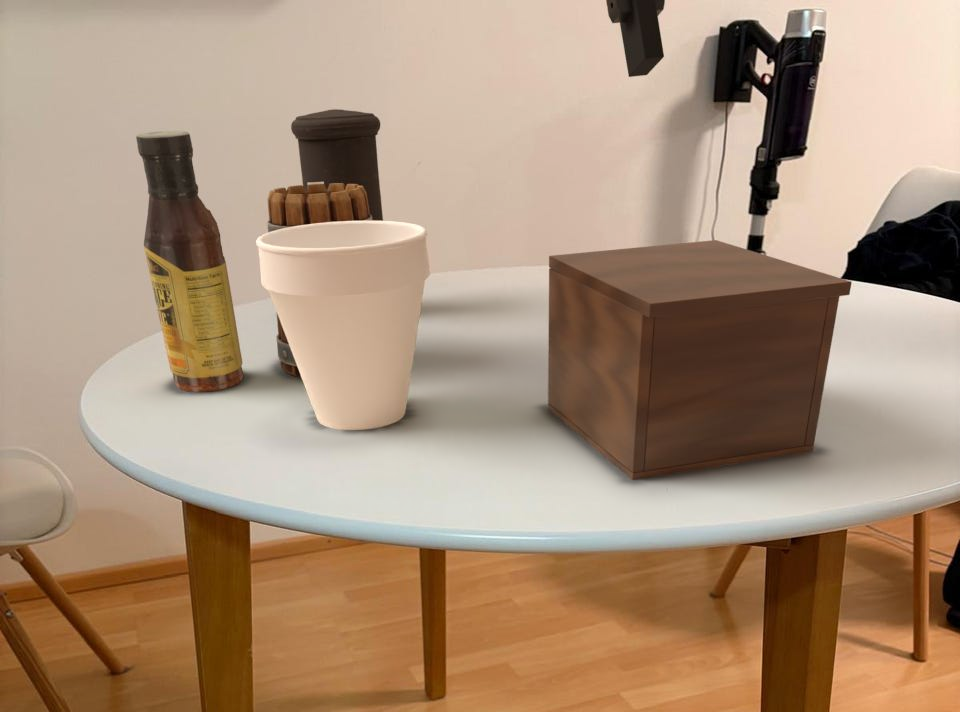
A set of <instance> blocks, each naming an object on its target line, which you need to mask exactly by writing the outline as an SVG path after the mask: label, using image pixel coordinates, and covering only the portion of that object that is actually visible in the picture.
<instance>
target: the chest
mask: <svg viewBox="0 0 960 712" xmlns="http://www.w3.org/2000/svg"><path fill="white" fill-rule="evenodd" d="M840 297H841V296H836V297H827V298H819V299H810V300H801V301H792V302H784V303H775V304H766V305H757V306H749V307H740V308H731V309H722V310H713V311H705V312H696V313H687V314H678V315H670V316H661V317H652V318H649V317H647V316H645V315H643V314H641V313H639V312H637V311H635V310H633V309H631V308H629V307H627V306H625V305H623V304H621V303H619V302H617V301H615V300H613V299H611V298H609V297H607V296H605V295H603V294H601V293H599V292H597V291H595V290H593V289H591V288H589V287H587V286H585V285H583V284H581V283H579V282H577V281H575V280H573V279H571V278H569V277H567V276H565V275H563V274H561V273H559V272H558V271H556V270H554V269H552V268H550V267H549V269H548V350H547V351H548V356H547V357H548V361H547V362H548V367H547V371H548V373H547V391H548V392H547V394H548V395H547V409H548V410H549V411H550V412H551V413H553V414H554V415H555V416H556V417H557V418H558V419H560V421H562V422H563V423H565V425H567V426H568V427H569V428H570V429H571V430H573V432H575V433H576V434H577V435H579V436H580V437H581V438H582V439H583V440H584V441H586V442H587V443H588V444H589V445H590V446H592V448H593V449H595V450H596V451H597V452H599V453H600V454H601V455H602V456H603V457H605V458H606V459H607V461H609V462H610V463H612V464H613V466H615V467H616V468H617V469H619V470H620V471H621V472H622V473H623V474H625V476H627V477H628V478H629V479H630V480H632V481H636V480H642V479H647V478H655V477H661V476H666V475H673V474H679V473H685V472H686V473H687V472H693V471H698V470H705V469H711V468H716V467H717V468H718V467H724V466H730V465H736V464H743V463H749V462H755V461H761V460H769V459H774V458H780V457H786V456H792V455H798V454H799V455H800V454H805V453H812V452H814V447H815V445H814V444H815V440H816V435H817V429H818V424H819V418H820V412H821V411H820V410H821V405H822V400H823V394H824V388H825V383H826V377H827V372H828V366H829V360H830V354H831V350H832V349H831V348H832V342H833V335H834V332H835V326H836V319H837V313H838V307H839V302H840Z"/></svg>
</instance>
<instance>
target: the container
mask: <svg viewBox="0 0 960 712" xmlns="http://www.w3.org/2000/svg"><path fill="white" fill-rule="evenodd" d="M290 125H291V126H290V129H291V130H290V131H291V132H292V135H293V136H294V137H295V139H296V140H297V145H298V153H299V154H298V155H299V163H300V171H301V181H302V182H301V183H302V185H303V187H304V189H305V190H306V189H307V186H308V183H310V182H324V185H325V187H326V188H327V189H328V187H329V184H331V183H343V184H344V185H345V187H346V186H347V184H358V185H359V186H363V187H364V189H365V191H366V193H367V199H368V206H369V212H370V215H372V219H373V221H384V215H383V205H382V195H381V185H380V172H379V161H378V148H377V136H378V134H379V131H380V129H381V121H380V118H379V117H378V116H376V115H375V114H374V113H371V112H363V111H356V110H348V109H340V108H339V109H336V108H334V109H333V108H332V109H327V110H322V111H318V112H312V113H307V114H305V115H299V116H296V117H295V119H294V120H293V121H292V122H291V124H290Z"/></svg>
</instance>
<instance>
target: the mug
mask: <svg viewBox="0 0 960 712" xmlns="http://www.w3.org/2000/svg"><path fill="white" fill-rule="evenodd" d="M267 209H268V211H267V212H268V220H267V223H266V224H267V233H268V232H272V231H275V230H279V229H283V228H288V227H294V226H300V225H307V224H316V223H326V222H340V221H373V219H372V215H370V212H369V206H368V199H367V193H366V191H365V189H364V187H363V186H359V185H358V184H347V186H346V187H345V185H344V184H343V183H331V184H329V187H328V189H327V188H326V187H325V185H324V182H310V183H308V186H307V189H306V190H305V189H304V187H303V184H298V185H297V184H296V185H289V186H287V189H286V187H278V188H274V189H273V190H272V189H271V190H269V192H268V196H267ZM276 321H277V322H276V323H277V335H276V347H277V357H278V359H279V361H280V368H281V369H282V370H283V371H284V372H285V373H287V374H289V375H290V376H293V377H301V375H300V372H299V370H298V367H297V364H296V362H295V359H294V356H293V354H292V351H291V348H290V346H289V343H288V340H287V338H286V335H285V333H284V330H283V327H282V325H281V322H280V319H279V317H278V314H277V313H276Z"/></svg>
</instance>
